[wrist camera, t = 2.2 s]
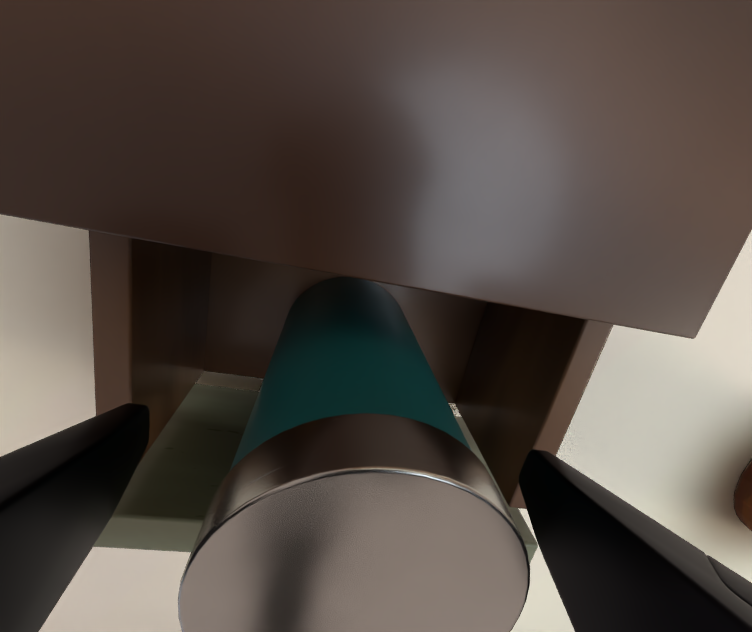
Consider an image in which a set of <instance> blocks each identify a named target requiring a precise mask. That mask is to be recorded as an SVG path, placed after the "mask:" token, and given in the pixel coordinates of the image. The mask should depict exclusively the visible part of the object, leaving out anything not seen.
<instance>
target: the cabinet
mask: <svg viewBox="0 0 752 632" xmlns="http://www.w3.org/2000/svg"><path fill="white" fill-rule="evenodd" d="M0 214H1V215H7V216H13V217H18V218H24V219H29V220H35V221H40V222H46V223H52V224H57V225H63V226H68V227H74V228H79V229H85V230H91V231H96V232H102V233H107V234H113V235H118V236H124V237H129V238H135V239H141V240H146V241H152V242H157V243H163V244H168V245H174V246H180V247H185V248H191V249H196V250H202V251H207V252H213V253H218V254H224V255H230V256H235V257H241V258H246V259H252V260H257V261H263V262H269V263H274V264H280V265H285V266H291V267H296V268H302V269H307V270H313V271H319V272H324V273H330V274H335V275H341V276H346V277H352V278H358V279H363V280H369V281H374V282H380V283H385V284H391V285H396V286H402V287H408V288H413V289H419V290H424V291H430V292H435V293H441V294H447V295H452V296H458V297H463V298H469V299H474V300H480V301H486V302H491V303H497V304H502V305H508V306H513V307H519V308H524V309H530V310H536V311H541V312H547V313H552V314H558V315H563V316H569V317H575V318H580V319H586V320H591V321H597V322H602V323H608V324H613V325H619V326H625V327H630V328H636V329H641V330H647V331H652V332H658V333H664V334H669V335H675V336H680V337H686V338H691V339H693V338H695V337H696V335H697V333H698V332H699V330H700V328H701V326H702V324H703V322H704V320H705V318H706V316H707V314H708V312H709V310H710V309H711V307H712V305H713V303H714V301H715V299H716V297H717V295H718V293H719V291H720V289H721V287H722V286H723V284H724V282H725V280H726V278H727V276H728V274H729V272H730V270H731V268H732V266H733V264H734V263H735V261H736V259H737V257H738V255H739V253H740V251H741V249H742V247H743V245H744V243H745V241H746V239H747V238H748V236H749V234H750V232H751V230H752V0H0Z"/></svg>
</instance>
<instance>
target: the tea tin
mask: <svg viewBox="0 0 752 632" xmlns="http://www.w3.org/2000/svg"><path fill="white" fill-rule="evenodd" d="M529 584H530V565H529V558H528V552H527V549H526V546H525V543H524V540H523V538H522V535H521V533H520V531H519V529H518V528H517V526H516V524H515V522H514V520H513V518H512V516H511V514H510V512H509V510H508V508H507V506H506V504H505V502H504V500H503V499H502V497H501V495H500V493H499V491H498V489H497V487H496V485H495V483H494V481H493V479H492V477H491V476H490V474H489V472H488V471H487V469H486V467H485V466H484V464H483V463H482V462H481V461H480V460H479V458H478V457H477V456H476V455H475V454H474V453H473V452H472V450H471V448H470V446H469V444H468V442H467V440H466V438H465V436H464V434H463V432H462V430H461V428H460V426H459V424H458V422H457V420H456V418H455V416H454V414H453V412H452V410H451V408H450V406H449V404H448V402H447V400H446V398H445V396H444V394H443V392H442V390H441V388H440V386H439V384H438V382H437V380H436V378H435V376H434V374H433V372H432V370H431V368H430V366H429V364H428V362H427V360H426V358H425V356H424V354H423V352H422V350H421V348H420V346H419V344H418V341H417V339H416V337H415V335H414V333H413V331H412V329H411V327H410V325H409V323H408V321H407V319H406V317H405V315H404V313H403V311H402V309H401V308H400V306H399V304H398V303H397V301H396V300H395V299H394V297H393V296H392V295H391V294H390V293H389V292H387V291H386V290H385V289H383V288H382V287H381V286H379V285H377V284H375V283H373V282H370V281H368V280H363V279H358V278H352V277H337V278H331V279H328V280H324V281H322V282H319V283H317V284H315V285H314V286H312V287H310V288H309V289H307V290H306V291H305V292H303V293H302V294H301V295H300V296H299V297H298V298H297V300H296V301H295V302H294V304H293V305H292V307H291V309H290V311H289V312H288V315H287V318H286V320H285V323H284V326H283V329H282V331H281V334H280V337H279V339H278V342H277V345H276V347H275V350H274V353H273V356H272V358H271V361H270V364H269V366H268V369H267V372H266V374H265V377H264V380H263V382H262V385H261V388H260V391H259V393H258V396H257V399H256V401H255V404H254V407H253V409H252V412H251V415H250V418H249V420H248V423H247V426H246V428H245V431H244V434H243V436H242V439H241V442H240V444H239V447H238V450H237V453H236V455H235V458H234V461H233V463H232V466H231V469H230V471H229V473H228V474H227V476H226V477H225V478H224V479H223V481H222V482H221V484H220V486H219V487H218V489H217V491H216V493H215V494H214V496H213V498H212V501H211V503H210V506H209V508H208V511H207V513H206V516H205V519H204V521H203V524H202V526H201V529H200V531H199V534H198V536H197V539H196V541H195V544H194V547H193V549H192V552H191V554H190V557H189V559H188V562H187V564H186V567H185V570H184V573H183V576H182V578H181V581H180V588H179V594H178V612H179V621H180V625H181V629H182V632H510V631H511V630H512V628H513V627H514V625H515V623H516V621H517V620H518V618H519V616H520V614H521V612H522V609H523V607H524V604H525V602H526V599H527V594H528V589H529Z"/></svg>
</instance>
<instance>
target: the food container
mask: <svg viewBox="0 0 752 632" xmlns="http://www.w3.org/2000/svg"><path fill="white" fill-rule="evenodd" d="M734 508H735V511H736V514H737V516H738V517H739V519H740V520H741V521H742V522H743V523H744V524H745V525H746V526H747V527H748V528H749V529H750V530H751V531H752V460H751V462H750V463H749V464H748V466H747V467H746V469H745V470H744V471H743V473H742V474H741V476H740V479H739V482H738V485H737V487H736V490H735V493H734Z"/></svg>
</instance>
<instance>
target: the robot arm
mask: <svg viewBox="0 0 752 632" xmlns="http://www.w3.org/2000/svg"><path fill="white" fill-rule="evenodd" d="M149 425H150V410H149V407H148V406H147V405H142V404H133V403H126V404H124V405H121V406H119V407H117V408H114V409H112V410H109V411H107V412H105V413H102V414H100V415H98V416H95V417H93V418H91V419H88V420H86V421H84V422H81V423H79V424H77V425H74V426H72V427H70V428H67V429H65V430H62V431H60V432H58V433H55V434H53V435H51V436H48V437H46V438H44V439H41V440H39V441H37V442H34V443H32V444H30V445H27V446H25V447H23V448H20V449H18V450H15V451H13V452H11V453H8V454H6V455H4V456H1V457H0V632H39V630H40V629H41V627H42V625H43V624H44V622H45V621H46V619H47V618H48V616H49V614H50V613H51V611H52V610H53V608H54V607H55V605H56V604H57V602H58V600H59V599H60V597H61V596H62V594H63V593H64V591H65V589H66V588H67V586H68V585H69V583H70V582H71V580H72V578H73V577H74V575H75V574H76V572H77V571H78V569H79V568H80V566H81V564H82V563H83V561H84V560H85V558H86V557H87V555H88V553H89V552H90V550H91V549H92V547H93V546H94V544H95V543H96V541H97V539H98V538H99V536H100V535H101V533H102V532H103V530H104V528H105V527H106V525H107V524H108V522H109V520H110V519H111V517H112V515H113V513H114V511H115V510H116V508H117V506H118V504H119V502H120V500H121V498H122V496H123V494H124V492H125V490H126V488H127V486H128V484H129V482H130V480H131V478H132V476H133V474H134V472H135V470H136V468H137V466H138V464H139V462H140V460H141V458H142V456H143V454H144V452H145V450H146V448H147V445H148V442H149ZM519 486H520V489H521V493H522V496H523V499H524V502H525V505H526V508H527V511H528V514H529V517H530V520H531V523H532V527H533V530H534V533H535V536H536V539H537V542H538V544H539V547H540V550H541V552H542V555H543V557H544V559H545V562H546V564H547V566H548V569H549V571H550V574H551V576H552V578H553V581H554V583H555V585H556V588H557V590H558V592H559V595H560V597H561V599H562V602H563V604H564V606H565V609H566V611H567V614H568V616H569V618H570V621H571V623H572V625H573V628H574V630H575V632H752V583H751V582H749V581H748V580H746V579H745V578H743V577H741V576H740V575H738V574H737V573H735V572H734V571H732V570H730V569H729V568H727V567H726V566H724V565H723V564H721V563H720V562H718V561H717V560H715V559H713V558H712V557H710V556H708V555H707V556H706V555H705V553H704V552H702V551H701V550H699V549H698V548H696V547H695V546H693V545H692V544H690V543H689V542H687V541H685V540H684V539H682V538H681V537H679V536H678V535H676V534H675V533H673V532H672V531H670V530H669V529H667V528H665V527H664V526H662V525H661V524H659V523H658V522H656V521H655V520H653V519H652V518H650V517H648V516H647V515H645V514H644V513H642V512H641V511H639V510H638V509H636V508H635V507H633V506H631V505H630V504H628V503H627V502H625V501H624V500H622V499H621V498H619V497H618V496H616V495H614V494H613V493H611V492H610V491H608V490H607V489H605V488H604V487H602V486H601V485H599V484H598V483H596V482H594V481H593V480H591V479H590V478H588V477H587V476H585V475H584V474H582V473H581V472H579V471H577V470H576V469H574V468H573V467H571V466H570V465H568V464H567V463H565V462H564V461H562V460H560V459H559V458H557V457H556V456H554V455H553V454H551V453H550V452H548V451H544V450H535V449H533V450H530V451H529V452H528V454H527V456H526V459H525V461H524V464H523V466H522V468H521V471H520V473H519Z"/></svg>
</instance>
